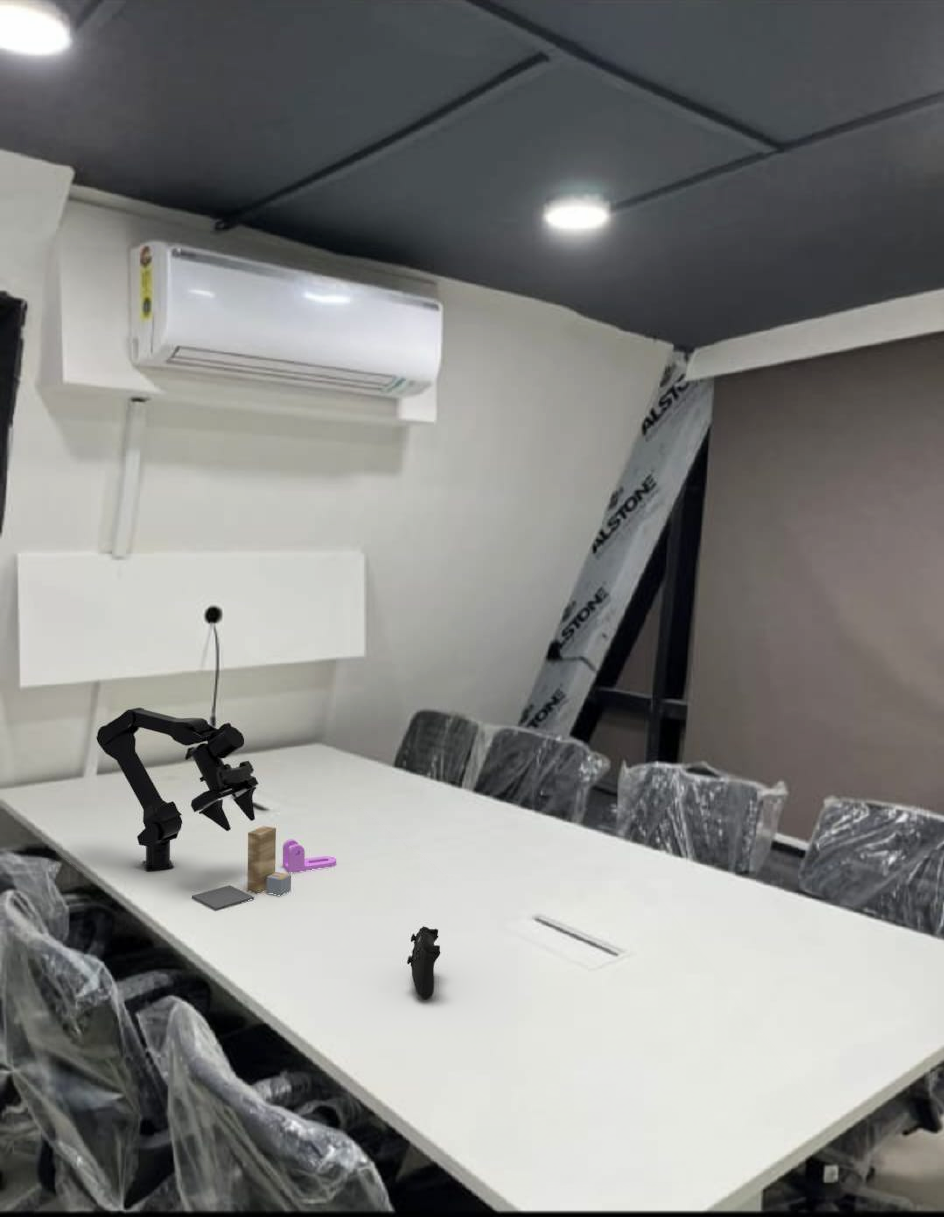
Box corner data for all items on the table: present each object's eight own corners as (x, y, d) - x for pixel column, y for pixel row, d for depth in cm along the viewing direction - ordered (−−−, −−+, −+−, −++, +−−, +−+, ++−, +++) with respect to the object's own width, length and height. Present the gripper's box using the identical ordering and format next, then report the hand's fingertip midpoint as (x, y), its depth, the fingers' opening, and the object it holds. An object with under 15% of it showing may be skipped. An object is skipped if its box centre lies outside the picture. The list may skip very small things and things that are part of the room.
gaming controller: (405, 967, 194) (407, 918, 193) (436, 967, 195) (438, 918, 194) (406, 1002, 180) (408, 948, 179) (440, 1002, 181) (441, 948, 180)
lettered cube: (266, 893, 231) (266, 876, 231) (276, 888, 235) (276, 871, 234) (280, 896, 229) (281, 879, 229) (290, 891, 233) (291, 874, 233)
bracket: (289, 874, 244) (290, 846, 244) (282, 867, 249) (283, 840, 249) (339, 866, 251) (340, 839, 250) (331, 860, 256) (331, 833, 255)
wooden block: (247, 891, 232) (248, 832, 231) (263, 883, 237) (263, 825, 236) (259, 893, 231) (260, 834, 229) (275, 885, 236) (275, 828, 235)
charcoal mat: (191, 898, 227) (191, 895, 227) (229, 887, 234) (229, 884, 234) (215, 910, 220) (215, 908, 220) (254, 899, 227) (254, 896, 227)
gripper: (208, 759, 226) (239, 820, 224) (258, 744, 243) (287, 800, 241) (176, 781, 231) (207, 841, 228) (227, 764, 248) (256, 820, 245)
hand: (241, 825), depth 235 cm, fingers open, 9 cm apart
